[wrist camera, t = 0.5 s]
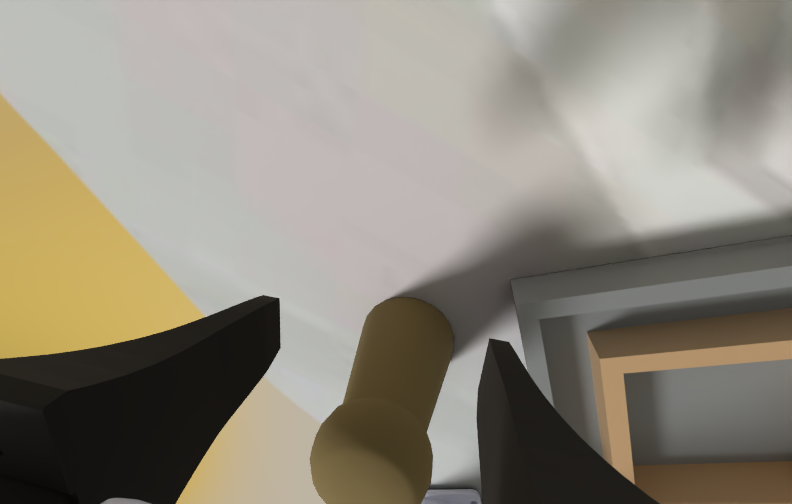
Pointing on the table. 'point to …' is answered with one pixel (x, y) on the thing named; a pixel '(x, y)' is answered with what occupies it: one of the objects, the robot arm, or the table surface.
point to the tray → (673, 368)
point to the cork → (386, 409)
